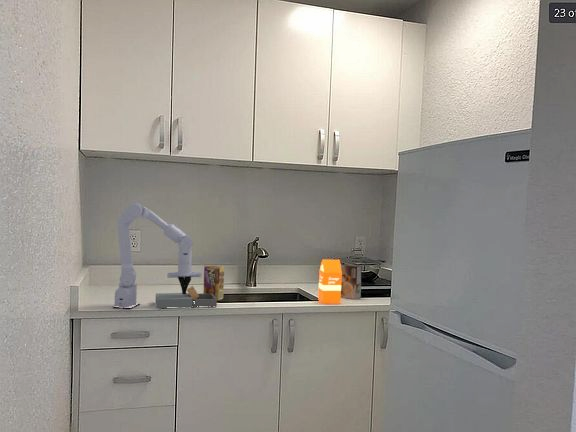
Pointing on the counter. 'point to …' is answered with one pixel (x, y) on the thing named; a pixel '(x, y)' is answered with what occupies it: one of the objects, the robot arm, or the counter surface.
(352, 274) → the coffee box
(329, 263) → the orange juice
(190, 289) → the orange block
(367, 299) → the counter surface
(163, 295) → the slate board
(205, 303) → the tray
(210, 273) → the candy box
